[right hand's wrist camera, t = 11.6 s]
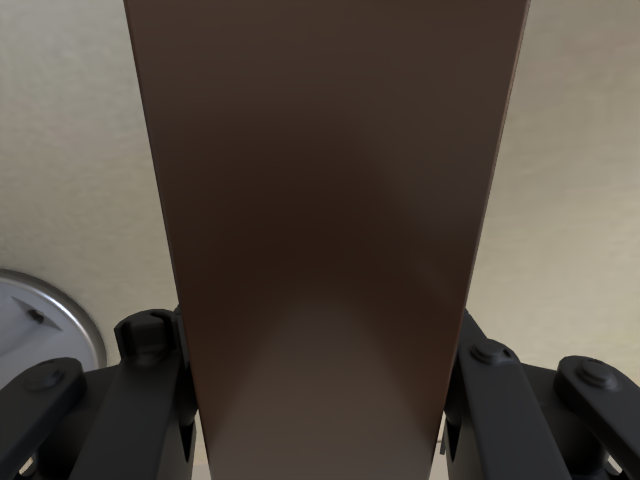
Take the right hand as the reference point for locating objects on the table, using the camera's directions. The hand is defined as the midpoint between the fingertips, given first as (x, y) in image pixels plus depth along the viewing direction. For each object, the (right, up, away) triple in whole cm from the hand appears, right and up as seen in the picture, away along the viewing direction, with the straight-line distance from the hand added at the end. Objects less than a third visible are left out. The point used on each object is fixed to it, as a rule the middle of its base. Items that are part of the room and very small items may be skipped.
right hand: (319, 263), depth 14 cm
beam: (0, +11, -5) cm, 13 cm away
